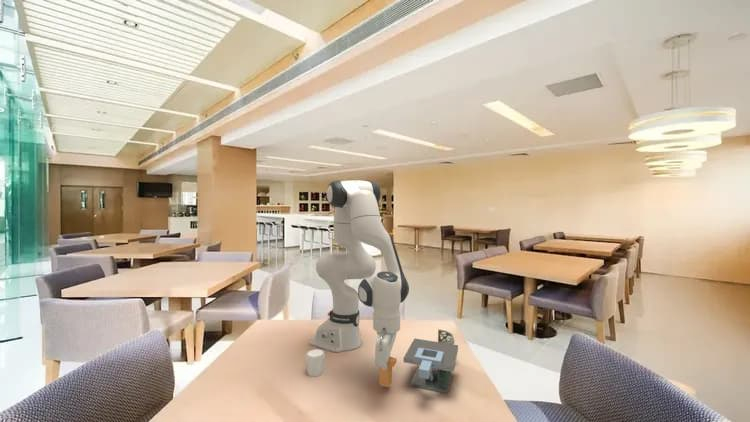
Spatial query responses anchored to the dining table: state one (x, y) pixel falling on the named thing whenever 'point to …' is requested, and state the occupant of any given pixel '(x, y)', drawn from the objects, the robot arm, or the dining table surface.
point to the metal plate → (437, 378)
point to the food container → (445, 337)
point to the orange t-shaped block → (387, 373)
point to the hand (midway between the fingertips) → (385, 364)
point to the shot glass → (315, 362)
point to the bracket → (427, 361)
